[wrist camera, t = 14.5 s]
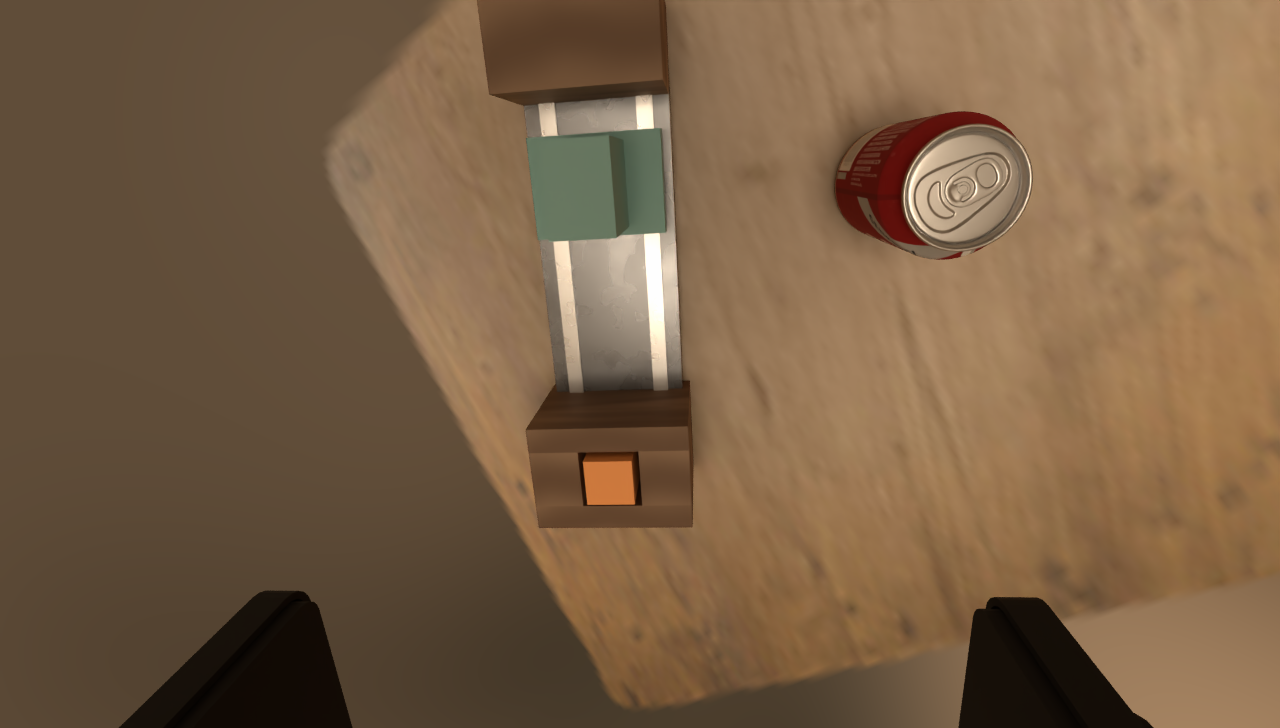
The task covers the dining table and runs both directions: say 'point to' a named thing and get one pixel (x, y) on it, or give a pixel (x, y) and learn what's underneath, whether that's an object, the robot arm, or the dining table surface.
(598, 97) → the near cabinet
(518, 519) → the dining table surface
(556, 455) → the far cabinet
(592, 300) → the rail track
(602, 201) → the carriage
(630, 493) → the plunger
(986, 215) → the soda can
